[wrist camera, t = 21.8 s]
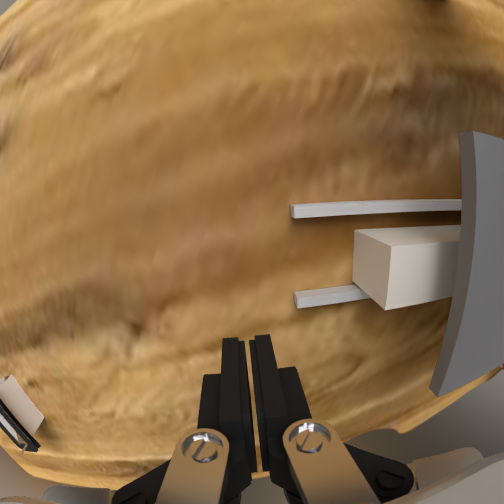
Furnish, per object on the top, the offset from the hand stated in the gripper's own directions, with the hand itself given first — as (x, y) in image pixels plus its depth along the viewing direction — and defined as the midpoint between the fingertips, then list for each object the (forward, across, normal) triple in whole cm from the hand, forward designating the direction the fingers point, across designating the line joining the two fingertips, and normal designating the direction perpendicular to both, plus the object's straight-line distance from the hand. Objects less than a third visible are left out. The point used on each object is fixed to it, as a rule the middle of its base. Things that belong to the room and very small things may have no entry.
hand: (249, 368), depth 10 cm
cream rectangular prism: (+16, -18, +1) cm, 25 cm away
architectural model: (+16, +36, +20) cm, 44 cm away
